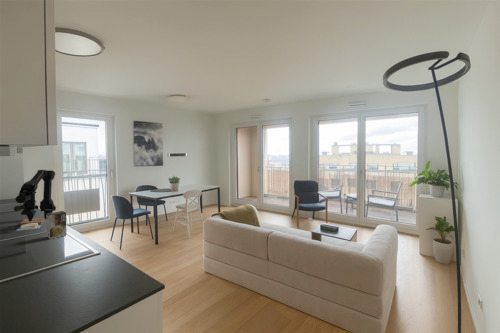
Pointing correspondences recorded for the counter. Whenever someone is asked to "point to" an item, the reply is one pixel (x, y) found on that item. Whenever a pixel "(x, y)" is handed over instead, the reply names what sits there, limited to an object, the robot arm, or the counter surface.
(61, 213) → the coffee box
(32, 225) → the tile
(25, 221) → the plate
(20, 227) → the mat
